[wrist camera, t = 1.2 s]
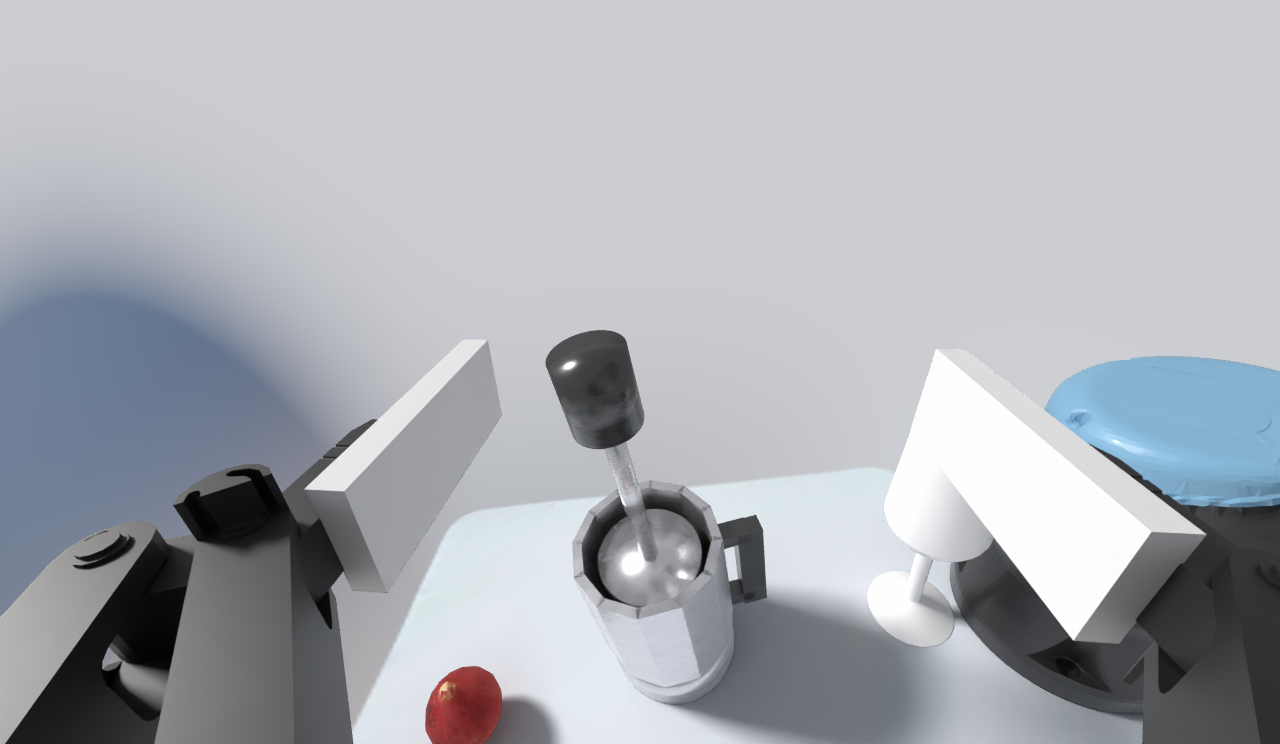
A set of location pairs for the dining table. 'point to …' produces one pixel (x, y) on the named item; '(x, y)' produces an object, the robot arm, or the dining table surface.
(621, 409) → the plunger
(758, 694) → the dining table surface
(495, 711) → the onion
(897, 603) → the champagne flute
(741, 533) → the press pot
